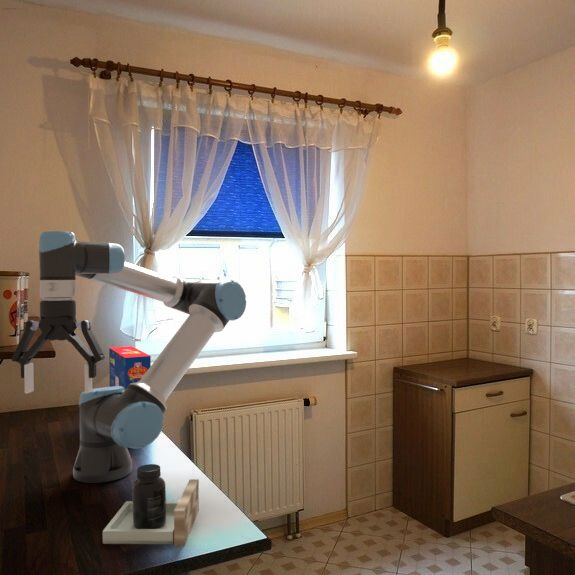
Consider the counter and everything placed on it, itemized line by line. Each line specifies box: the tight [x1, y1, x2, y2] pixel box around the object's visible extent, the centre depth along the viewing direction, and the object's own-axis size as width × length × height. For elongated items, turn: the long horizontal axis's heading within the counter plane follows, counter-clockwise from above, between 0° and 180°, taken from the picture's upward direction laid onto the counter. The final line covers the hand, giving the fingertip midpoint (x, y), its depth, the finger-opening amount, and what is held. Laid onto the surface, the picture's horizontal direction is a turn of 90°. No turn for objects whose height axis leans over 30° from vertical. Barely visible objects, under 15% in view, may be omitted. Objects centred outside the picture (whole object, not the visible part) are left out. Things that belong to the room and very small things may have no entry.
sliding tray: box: [102, 500, 179, 545], centre depth 111 cm, size 14×14×2 cm
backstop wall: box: [173, 478, 200, 547], centre depth 111 cm, size 16×2×7 cm, turn 0°
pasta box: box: [108, 345, 152, 389], centre depth 179 cm, size 28×8×28 cm, turn 29°
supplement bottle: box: [132, 463, 167, 529], centre depth 111 cm, size 7×7×12 cm
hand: (58, 392), depth 119 cm, fingers open, 13 cm apart
